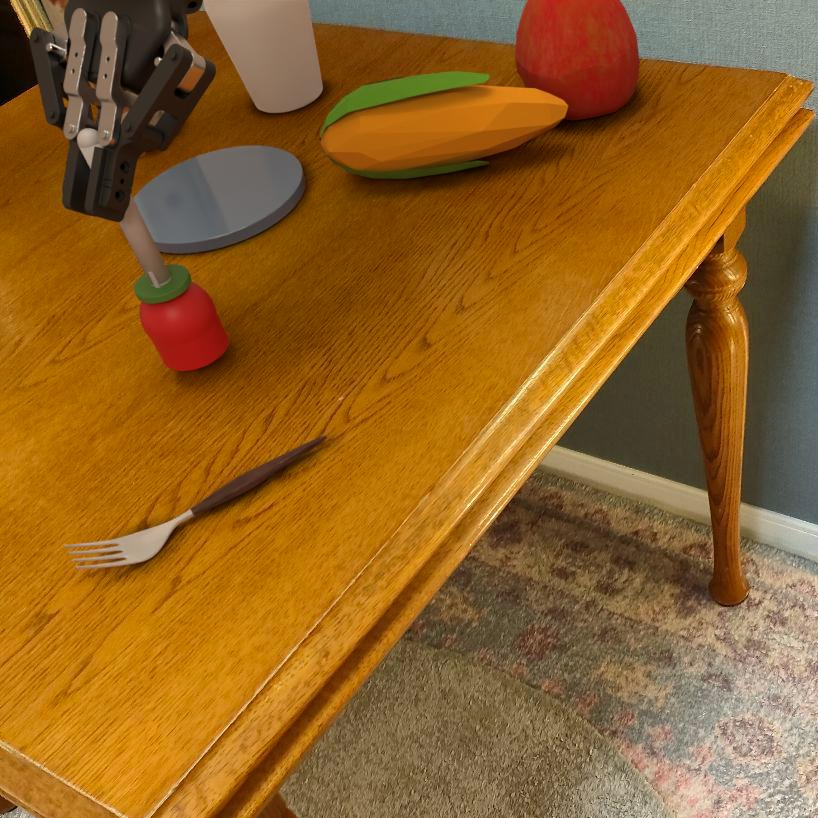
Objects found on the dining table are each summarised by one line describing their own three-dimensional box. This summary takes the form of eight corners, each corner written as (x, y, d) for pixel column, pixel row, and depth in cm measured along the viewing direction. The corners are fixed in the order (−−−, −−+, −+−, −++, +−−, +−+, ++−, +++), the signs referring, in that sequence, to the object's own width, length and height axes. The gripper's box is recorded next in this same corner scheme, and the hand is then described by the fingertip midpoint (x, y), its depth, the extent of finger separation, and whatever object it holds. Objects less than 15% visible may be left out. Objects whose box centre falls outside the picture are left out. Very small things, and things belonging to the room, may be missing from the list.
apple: (500, 114, 87) (477, -15, 79) (585, 65, 90) (571, -62, 82) (582, 146, 81) (565, 11, 73) (669, 93, 84) (662, -42, 77)
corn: (312, 69, 80) (560, 29, 78) (341, 154, 86) (572, 120, 84) (299, 119, 75) (562, 79, 73) (331, 206, 81) (575, 171, 79)
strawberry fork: (153, 376, 67) (30, 156, 55) (171, 331, 70) (58, 115, 58) (222, 368, 66) (112, 145, 54) (236, 323, 69) (136, 103, 58)
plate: (109, 264, 80) (103, 254, 79) (157, 168, 90) (152, 158, 89) (289, 240, 78) (285, 229, 77) (318, 145, 88) (315, 134, 87)
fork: (338, 453, 61) (328, 429, 59) (93, 592, 56) (76, 570, 55) (319, 432, 62) (309, 408, 61) (80, 565, 58) (62, 543, 56)
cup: (245, 129, 92) (192, -8, 83) (242, 89, 98) (192, -43, 89) (340, 105, 93) (297, -35, 84) (331, 66, 99) (290, -68, 90)
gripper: (284, -61, 56) (223, 250, 59) (120, -70, 62) (71, 213, 65) (180, -137, 49) (117, 218, 52) (6, -140, 55) (-42, 180, 58)
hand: (91, 214), depth 58 cm, fingers closed on strawberry fork, 1 cm apart
